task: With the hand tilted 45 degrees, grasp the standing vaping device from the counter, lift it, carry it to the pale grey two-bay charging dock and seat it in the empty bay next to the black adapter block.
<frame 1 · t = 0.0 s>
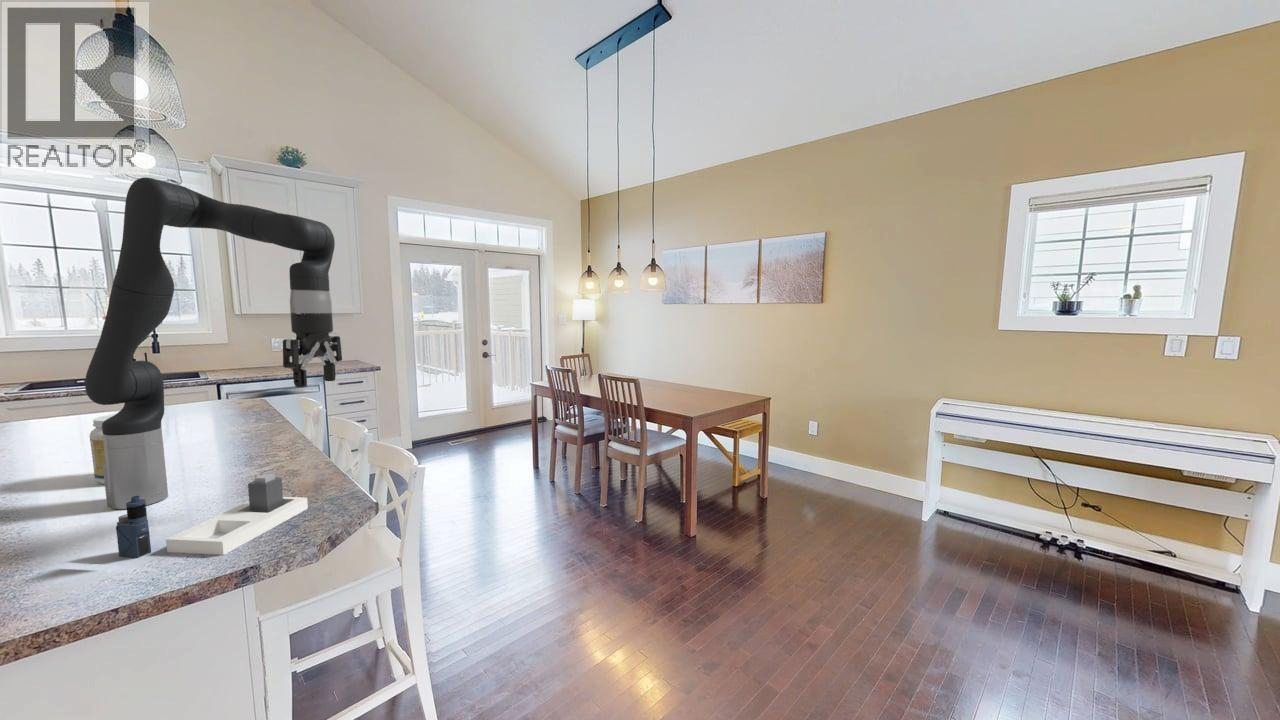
hand: (315, 383, 103), 29 cm above the counter, tool pointing down, fingers open, 8 cm apart
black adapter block: (267, 516, 100), point 1 cm above the counter, touching dock
vaping device: (136, 559, 84), on the counter
dock: (245, 532, 95), on the counter
supplement tub: (129, 478, 124), on the counter
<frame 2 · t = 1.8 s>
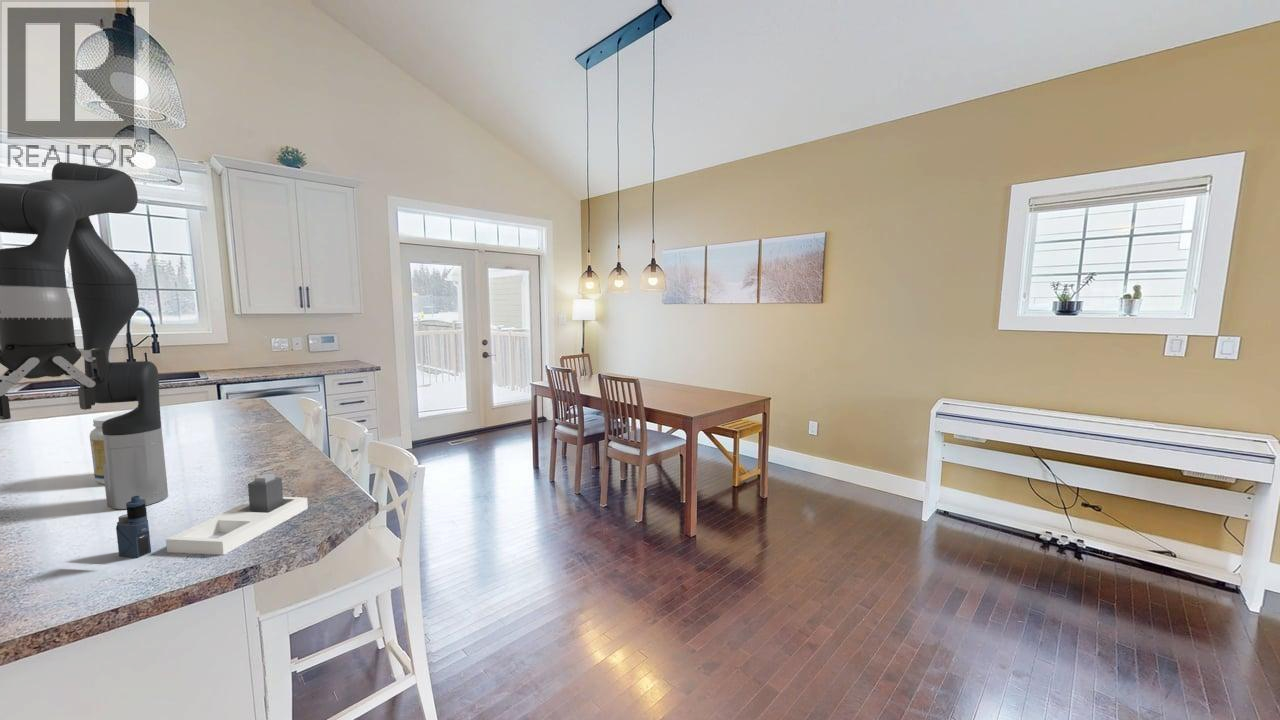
hand: (47, 413, 76), 28 cm above the counter, tool pointing down, fingers open, 8 cm apart
nothing on the counter moved.
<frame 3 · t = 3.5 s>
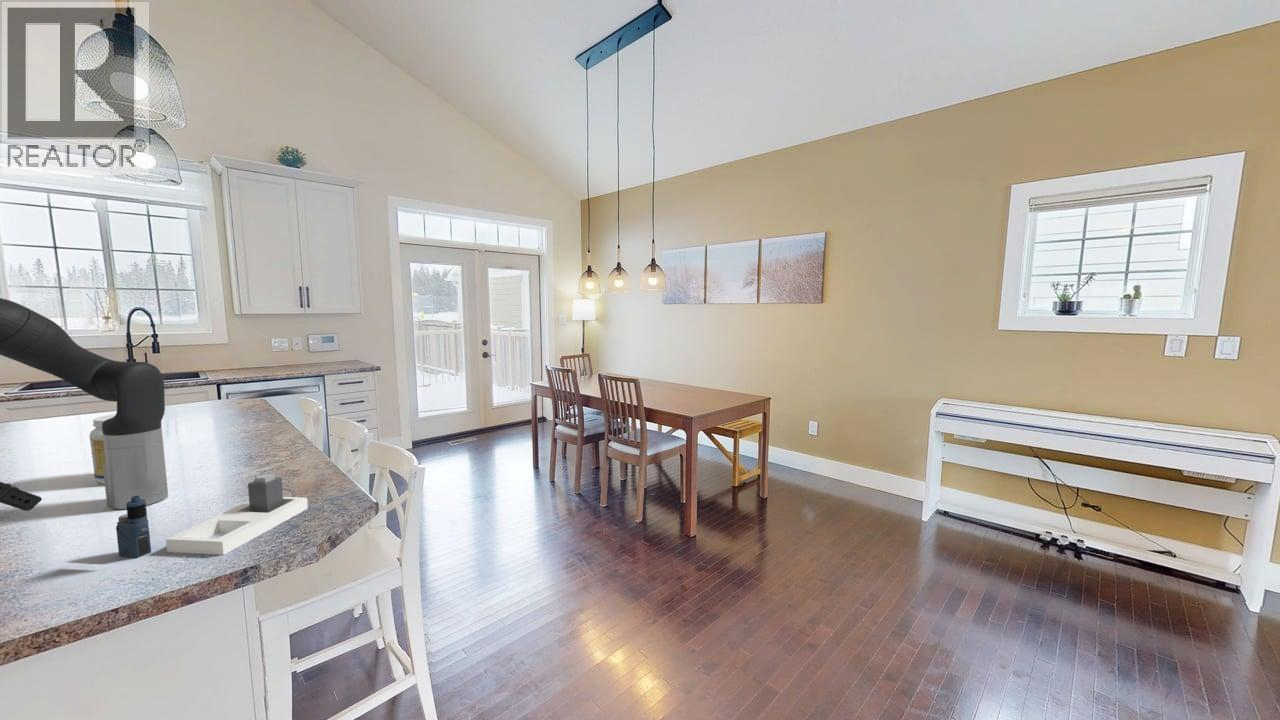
hand: (24, 499, 72), 16 cm above the counter, tool tilted 45°, fingers open, 8 cm apart
nothing on the counter moved.
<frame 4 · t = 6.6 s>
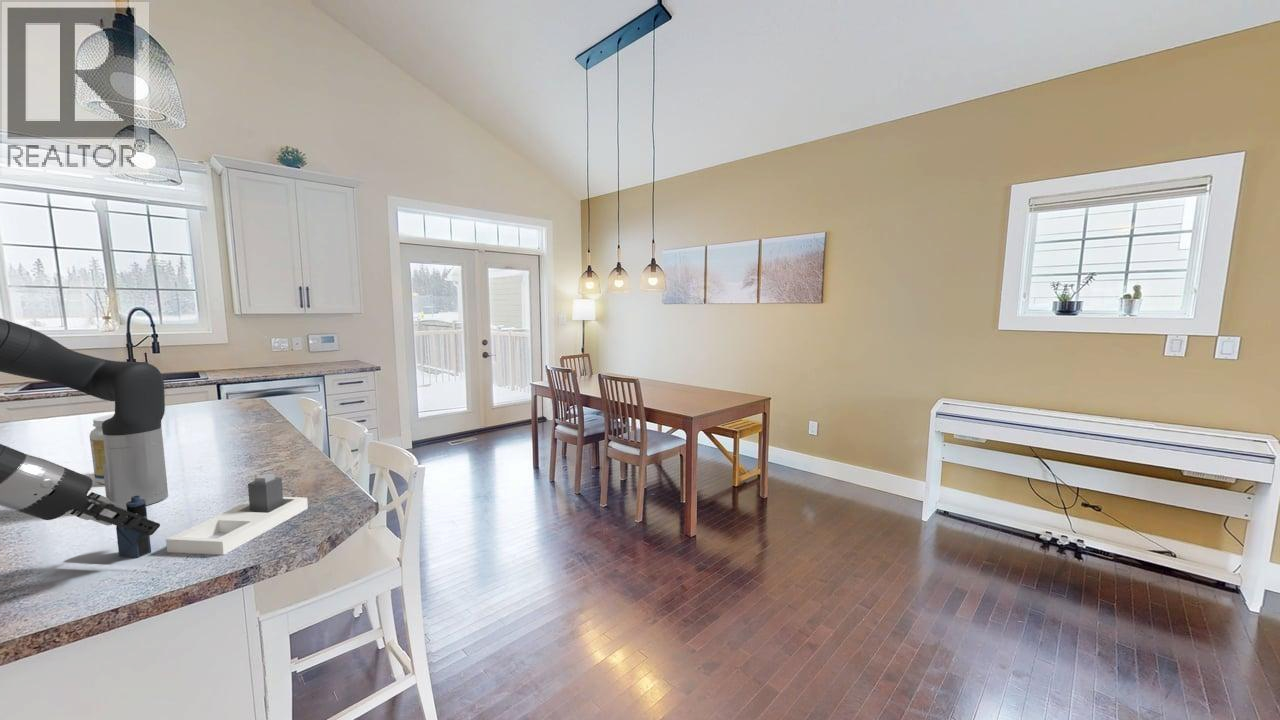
hand: (147, 526, 85), 5 cm above the counter, tool tilted 45°, fingers closed on vaping device, 5 cm apart
vaping device: (136, 559, 84), on the counter, touching gripper
everything else where it was.
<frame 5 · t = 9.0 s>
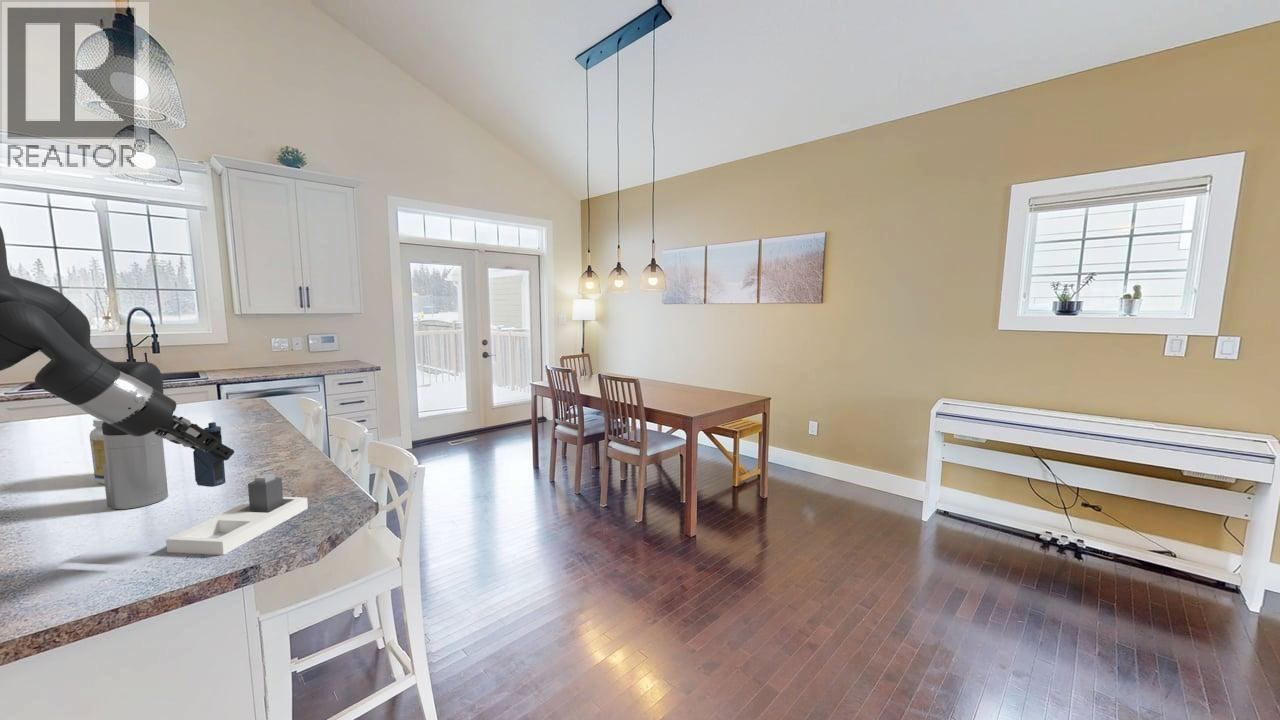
hand: (221, 453, 89), 18 cm above the counter, tool tilted 45°, fingers closed on vaping device, 5 cm apart
vaping device: (211, 485, 88), point 12 cm above the counter, touching gripper
everything else where it was.
when the fingers open (8 cm above the counter, at t = 11.3 s): vaping device drops 1 cm, resting on dock.
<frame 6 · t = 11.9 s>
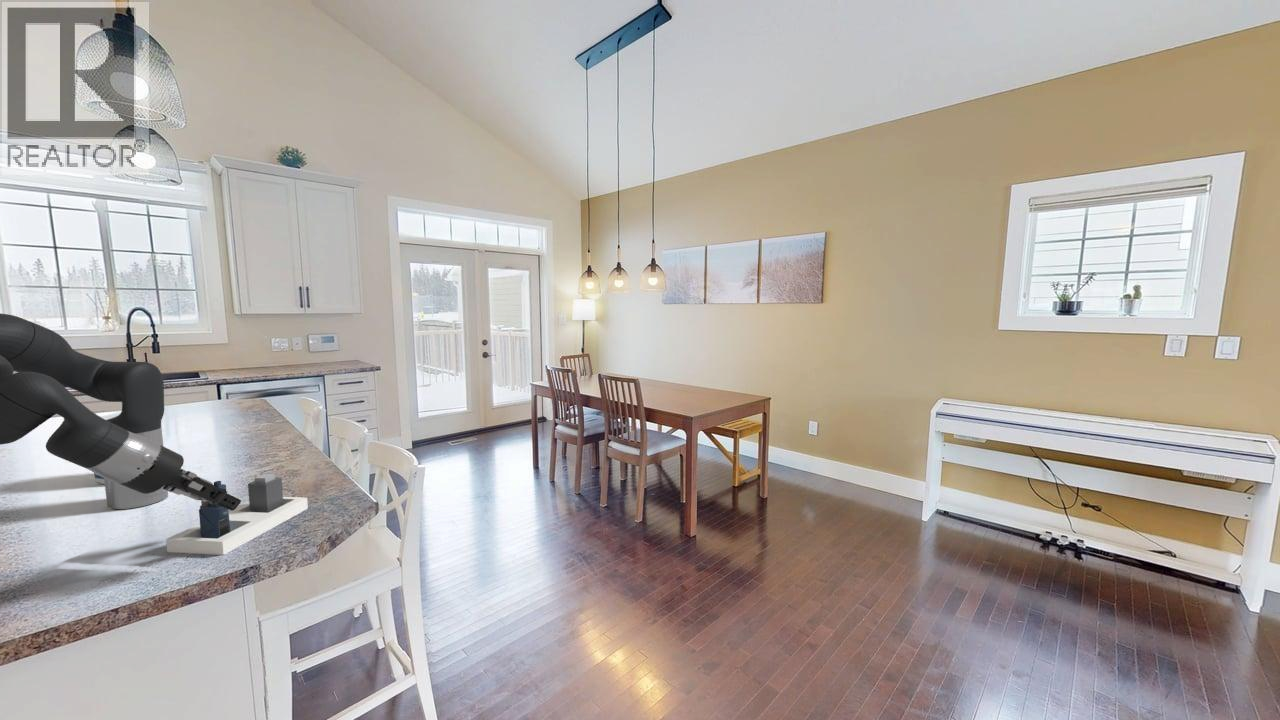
hand: (224, 501, 90), 8 cm above the counter, tool tilted 45°, fingers open, 8 cm apart
vaping device: (216, 542, 89), point 1 cm above the counter, touching dock
everything else where it was.
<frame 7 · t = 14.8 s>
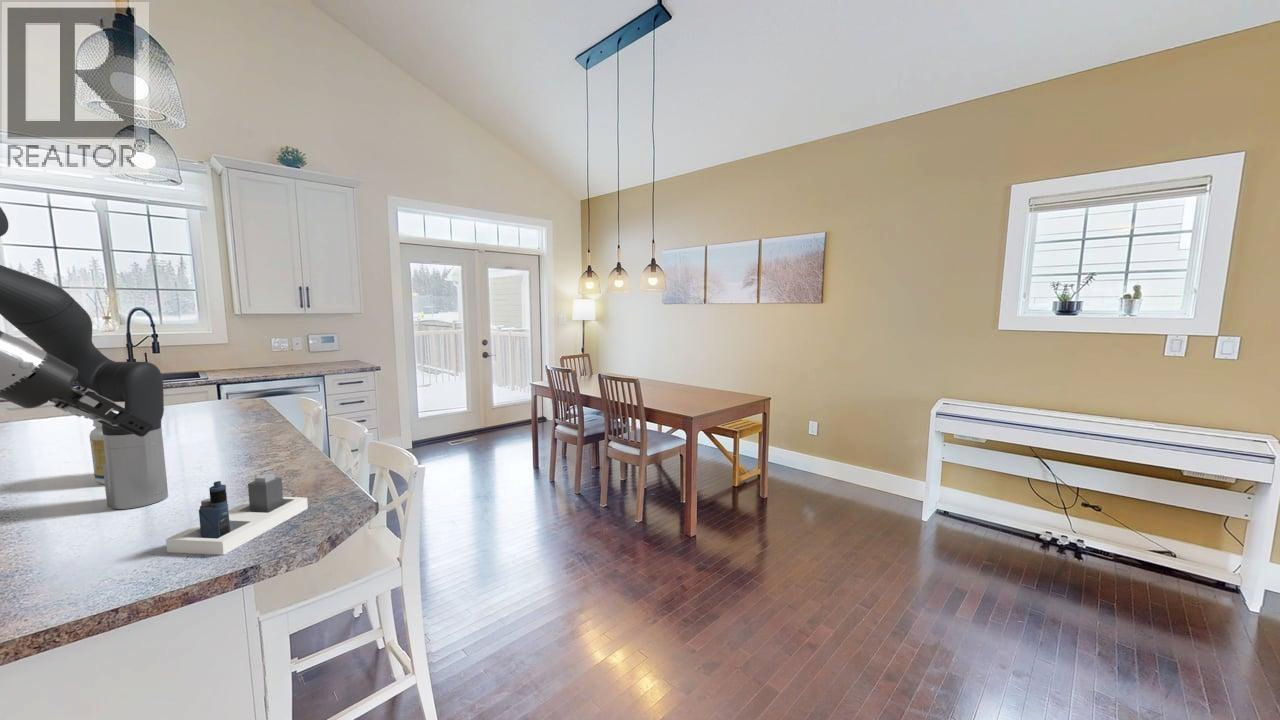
hand: (135, 428, 78), 25 cm above the counter, tool tilted 45°, fingers open, 8 cm apart
nothing on the counter moved.
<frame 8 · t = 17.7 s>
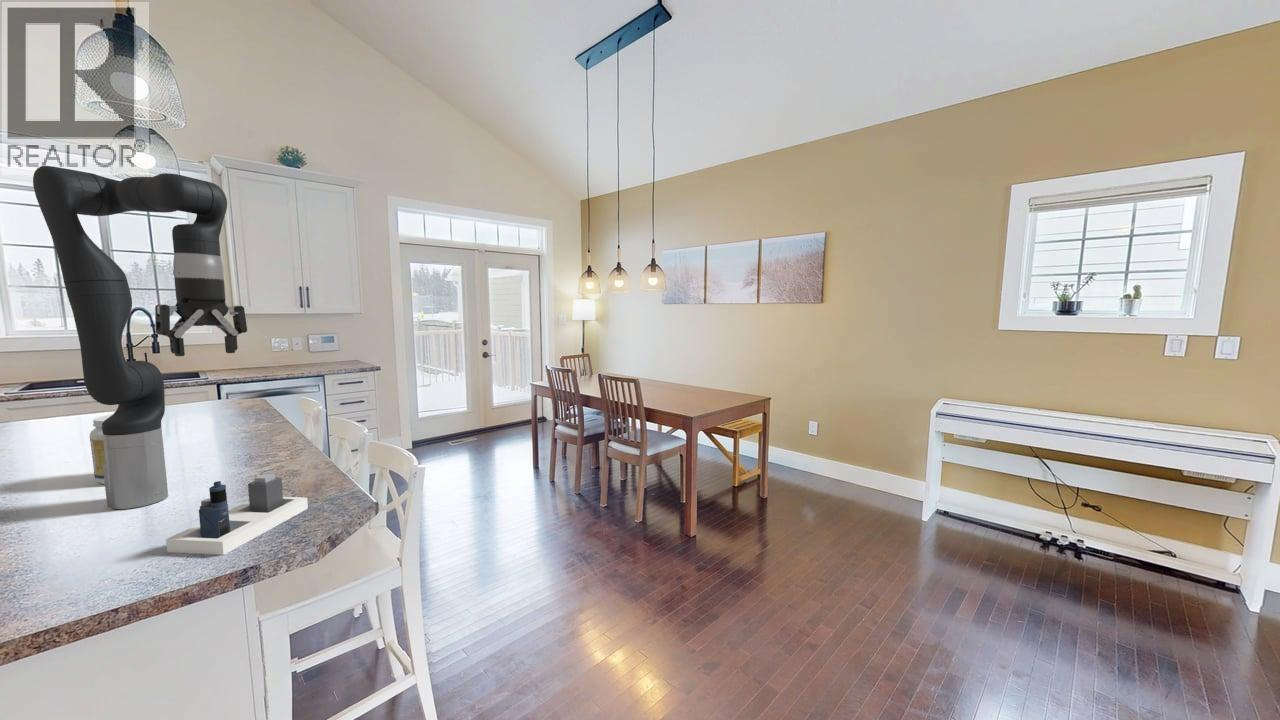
hand: (206, 354, 97), 36 cm above the counter, tool pointing down, fingers open, 8 cm apart
nothing on the counter moved.
at the end: vaping device inside the target area on the dock (0.4 cm from its centre), point 0.8 cm above the dock's base; vaping device tilted 0°; the gripper is holding nothing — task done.
